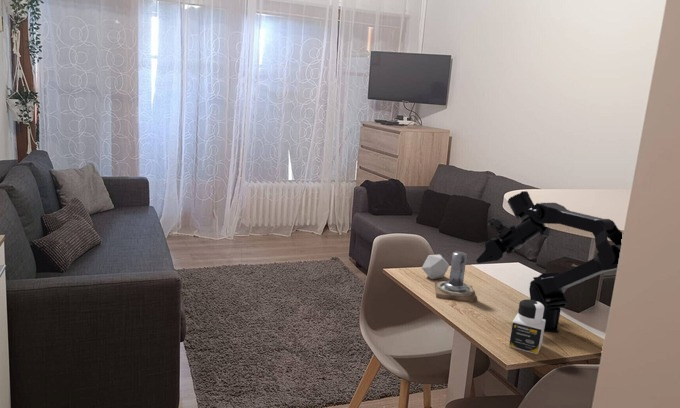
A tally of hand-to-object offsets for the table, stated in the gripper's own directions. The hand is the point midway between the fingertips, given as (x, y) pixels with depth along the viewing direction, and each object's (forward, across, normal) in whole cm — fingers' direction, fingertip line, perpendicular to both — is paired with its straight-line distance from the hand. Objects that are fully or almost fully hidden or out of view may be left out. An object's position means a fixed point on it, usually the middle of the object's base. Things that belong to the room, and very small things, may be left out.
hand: (482, 258), depth 171 cm
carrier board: (+15, -1, +4) cm, 16 cm away
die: (+24, -10, -4) cm, 26 cm away
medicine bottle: (-6, +22, +25) cm, 34 cm away
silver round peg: (+14, -1, +3) cm, 15 cm away
